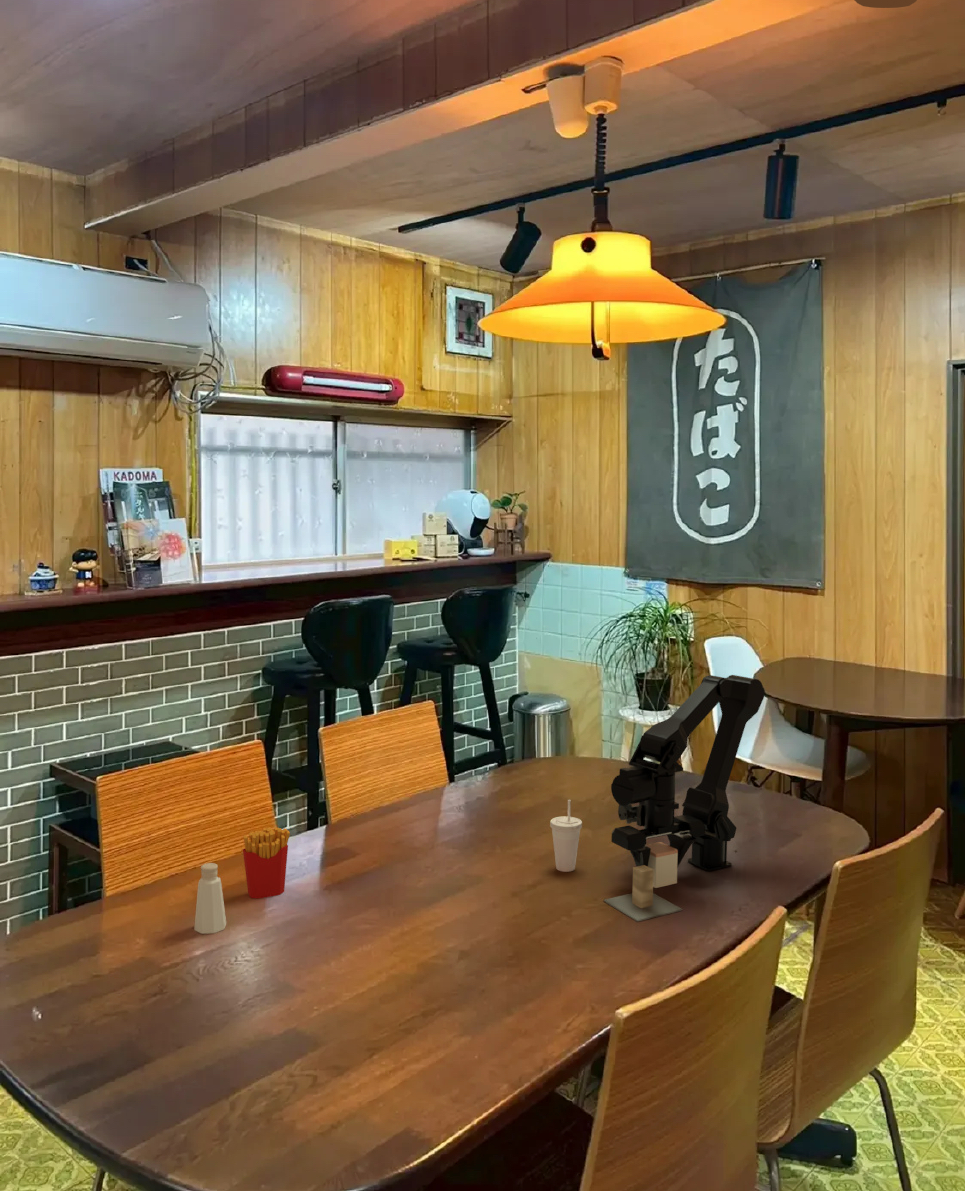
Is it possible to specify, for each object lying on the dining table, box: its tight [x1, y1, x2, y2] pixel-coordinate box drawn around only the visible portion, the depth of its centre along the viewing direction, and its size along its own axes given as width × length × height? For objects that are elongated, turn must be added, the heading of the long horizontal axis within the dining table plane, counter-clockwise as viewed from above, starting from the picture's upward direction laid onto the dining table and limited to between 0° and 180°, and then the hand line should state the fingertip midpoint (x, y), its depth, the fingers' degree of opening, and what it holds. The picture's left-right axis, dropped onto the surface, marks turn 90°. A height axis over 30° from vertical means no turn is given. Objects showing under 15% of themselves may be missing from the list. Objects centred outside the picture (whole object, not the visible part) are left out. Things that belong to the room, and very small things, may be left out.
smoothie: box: [549, 799, 583, 873], centre depth 197 cm, size 6×6×14 cm
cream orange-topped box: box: [646, 841, 678, 889], centre depth 191 cm, size 5×5×7 cm
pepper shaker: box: [193, 862, 227, 935], centre depth 169 cm, size 5×5×11 cm
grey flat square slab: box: [603, 865, 683, 923], centre depth 179 cm, size 10×10×7 cm
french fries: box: [242, 826, 291, 899], centre depth 184 cm, size 8×4×12 cm, turn 118°
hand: (657, 874), depth 191 cm, fingers open, 7 cm apart
